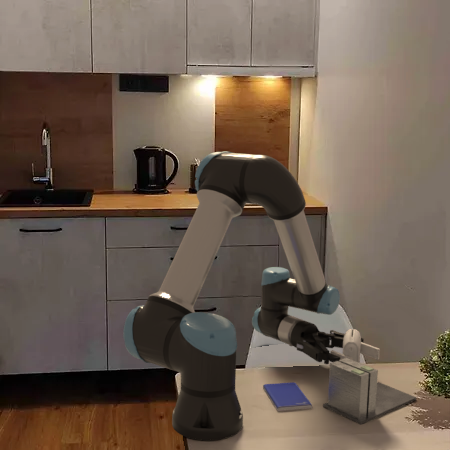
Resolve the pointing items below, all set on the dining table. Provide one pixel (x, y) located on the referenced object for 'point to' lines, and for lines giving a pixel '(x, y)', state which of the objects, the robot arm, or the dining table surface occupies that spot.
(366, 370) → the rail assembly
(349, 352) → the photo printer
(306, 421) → the dining table surface
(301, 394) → the hard drive
